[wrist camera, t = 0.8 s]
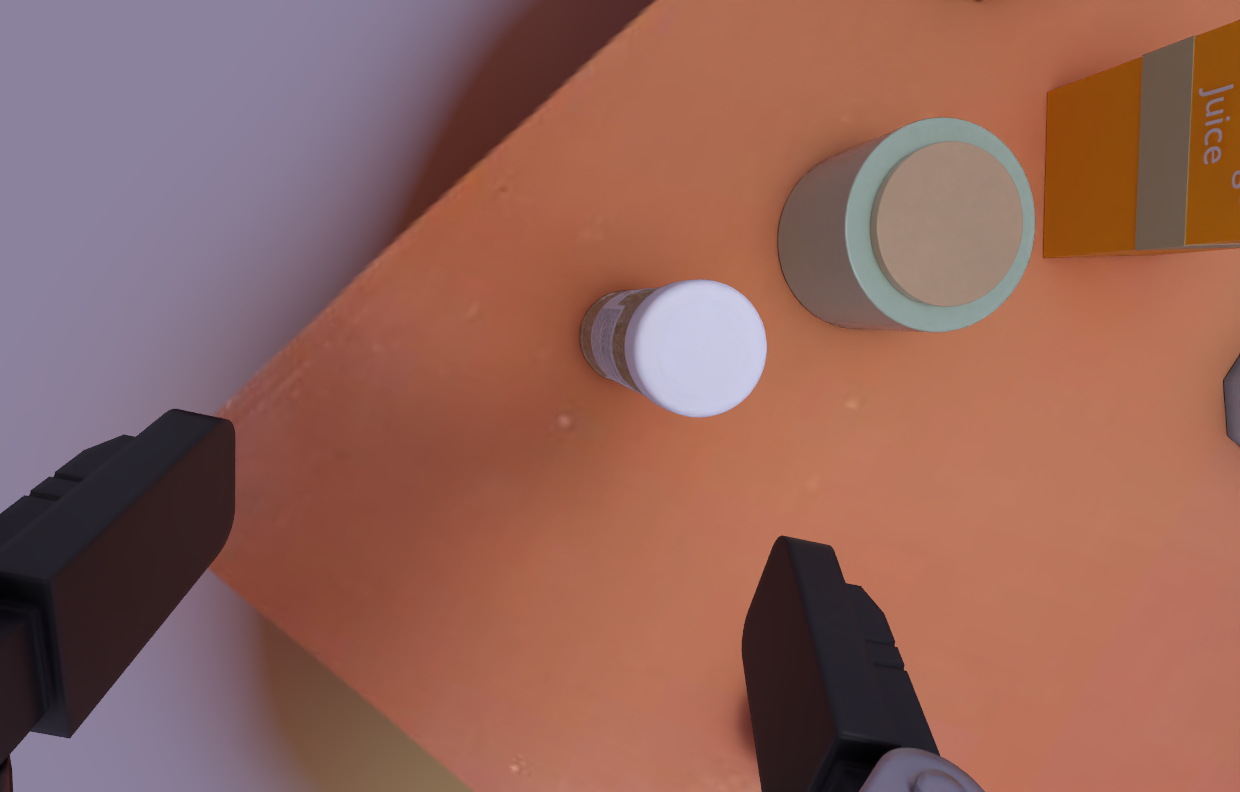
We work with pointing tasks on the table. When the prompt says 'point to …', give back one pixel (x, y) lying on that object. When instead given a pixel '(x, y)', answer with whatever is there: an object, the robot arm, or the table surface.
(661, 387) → the sprinkles bottle
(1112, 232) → the orange juice
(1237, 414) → the coffee maker
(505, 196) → the table surface
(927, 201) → the pale green cylinder
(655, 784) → the table surface
